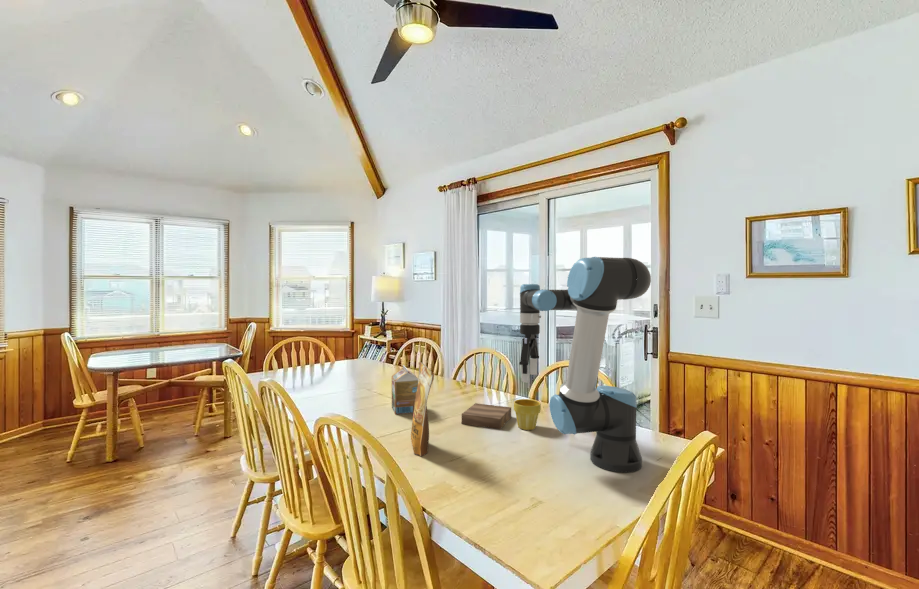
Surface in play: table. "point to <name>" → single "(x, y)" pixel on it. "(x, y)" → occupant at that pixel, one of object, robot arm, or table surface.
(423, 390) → the pancake mix bag
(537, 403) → the plant pot
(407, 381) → the milk carton
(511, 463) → the table surface
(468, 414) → the block
